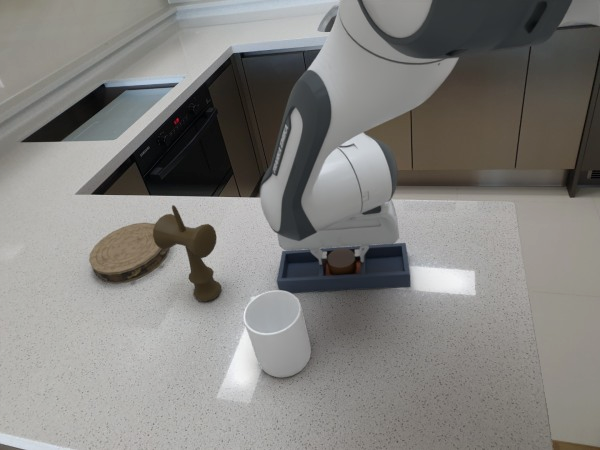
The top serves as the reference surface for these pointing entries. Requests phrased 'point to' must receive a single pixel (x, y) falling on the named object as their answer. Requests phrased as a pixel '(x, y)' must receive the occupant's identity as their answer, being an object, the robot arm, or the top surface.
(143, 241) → the wood slice coaster
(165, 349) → the top surface
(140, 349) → the top surface
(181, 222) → the kendama
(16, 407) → the top surface
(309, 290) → the grid
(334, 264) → the cylinder
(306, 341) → the mug
